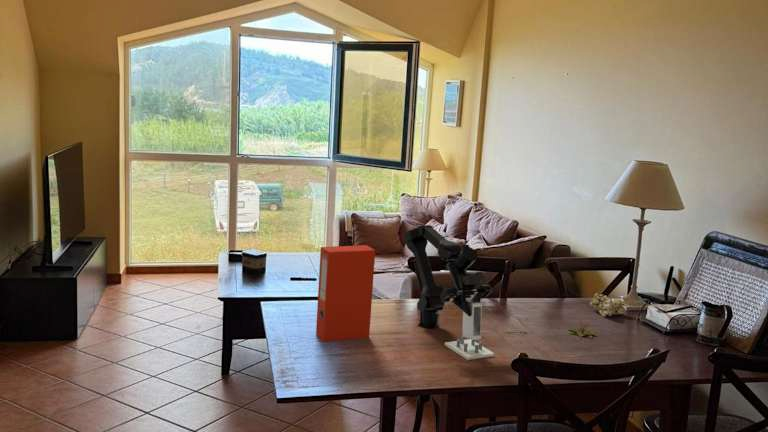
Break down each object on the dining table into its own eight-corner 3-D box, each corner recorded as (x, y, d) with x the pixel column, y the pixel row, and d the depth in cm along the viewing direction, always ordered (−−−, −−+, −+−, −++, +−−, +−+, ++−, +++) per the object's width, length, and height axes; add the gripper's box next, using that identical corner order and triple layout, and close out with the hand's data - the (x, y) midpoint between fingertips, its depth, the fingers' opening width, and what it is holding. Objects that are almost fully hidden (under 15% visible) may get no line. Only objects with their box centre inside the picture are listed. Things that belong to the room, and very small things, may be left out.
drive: (462, 335, 232) (463, 300, 231) (470, 334, 233) (471, 299, 232) (472, 339, 226) (473, 303, 225) (480, 338, 228) (481, 302, 227)
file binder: (369, 337, 237) (375, 250, 232) (324, 342, 229) (329, 252, 224) (360, 330, 244) (365, 244, 239) (315, 334, 236) (320, 246, 231)
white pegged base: (444, 345, 235) (445, 335, 234) (470, 341, 240) (471, 332, 239) (467, 359, 223) (468, 349, 222) (493, 356, 228) (494, 346, 227)
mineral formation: (606, 319, 277) (580, 306, 290) (627, 321, 284) (601, 308, 297) (611, 301, 276) (585, 288, 289) (633, 303, 283) (606, 291, 295)
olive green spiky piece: (563, 335, 255) (564, 323, 254) (569, 326, 266) (571, 315, 265) (595, 342, 250) (597, 330, 249) (600, 333, 261) (602, 322, 260)
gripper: (447, 265, 225) (463, 306, 218) (492, 262, 234) (508, 302, 226) (433, 281, 233) (447, 321, 226) (477, 278, 242) (492, 316, 234)
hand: (474, 315), depth 228 cm, fingers closed on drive, 3 cm apart
